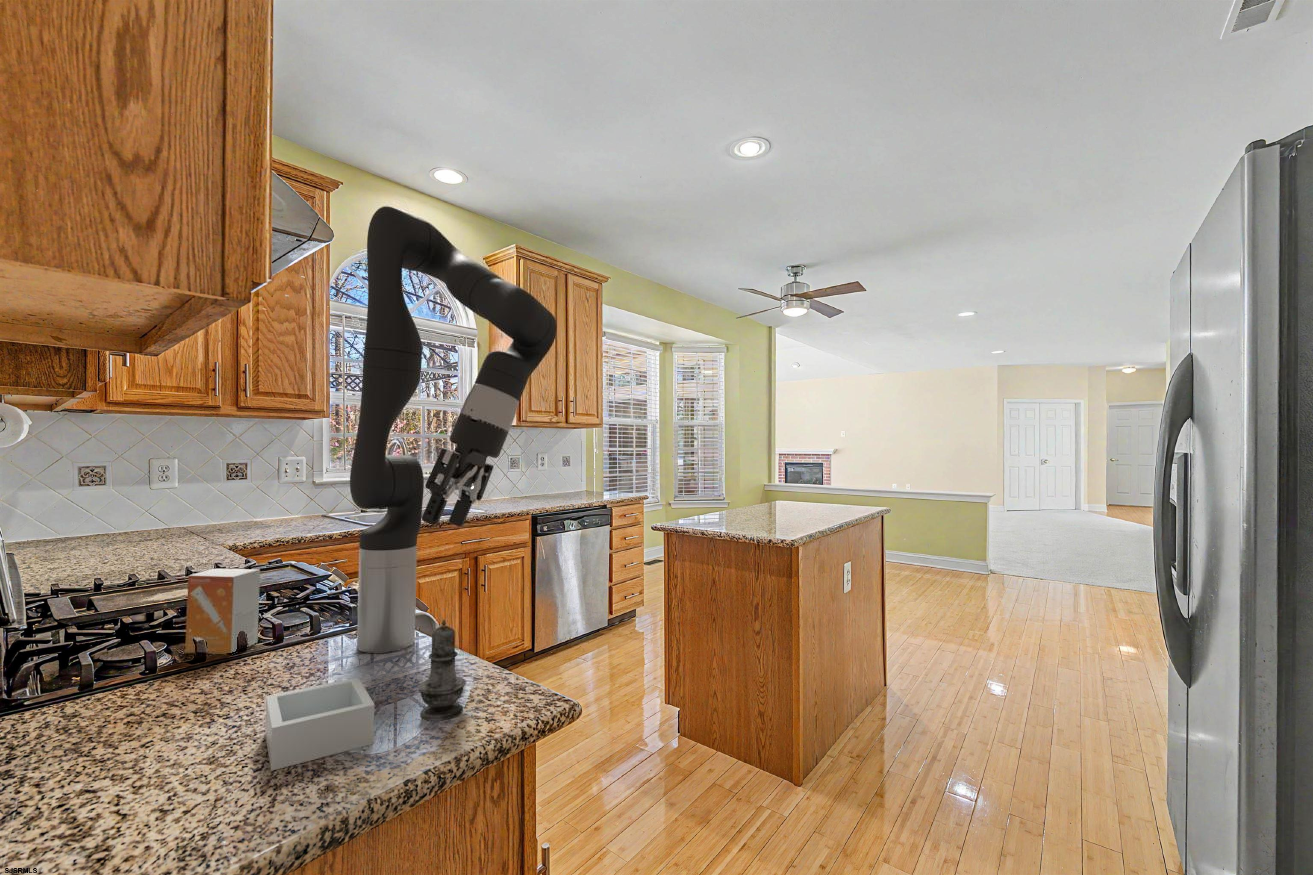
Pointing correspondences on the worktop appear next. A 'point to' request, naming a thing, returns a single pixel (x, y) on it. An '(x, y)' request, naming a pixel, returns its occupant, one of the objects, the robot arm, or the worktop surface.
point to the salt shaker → (442, 678)
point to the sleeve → (318, 722)
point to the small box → (222, 608)
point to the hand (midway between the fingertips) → (442, 523)
